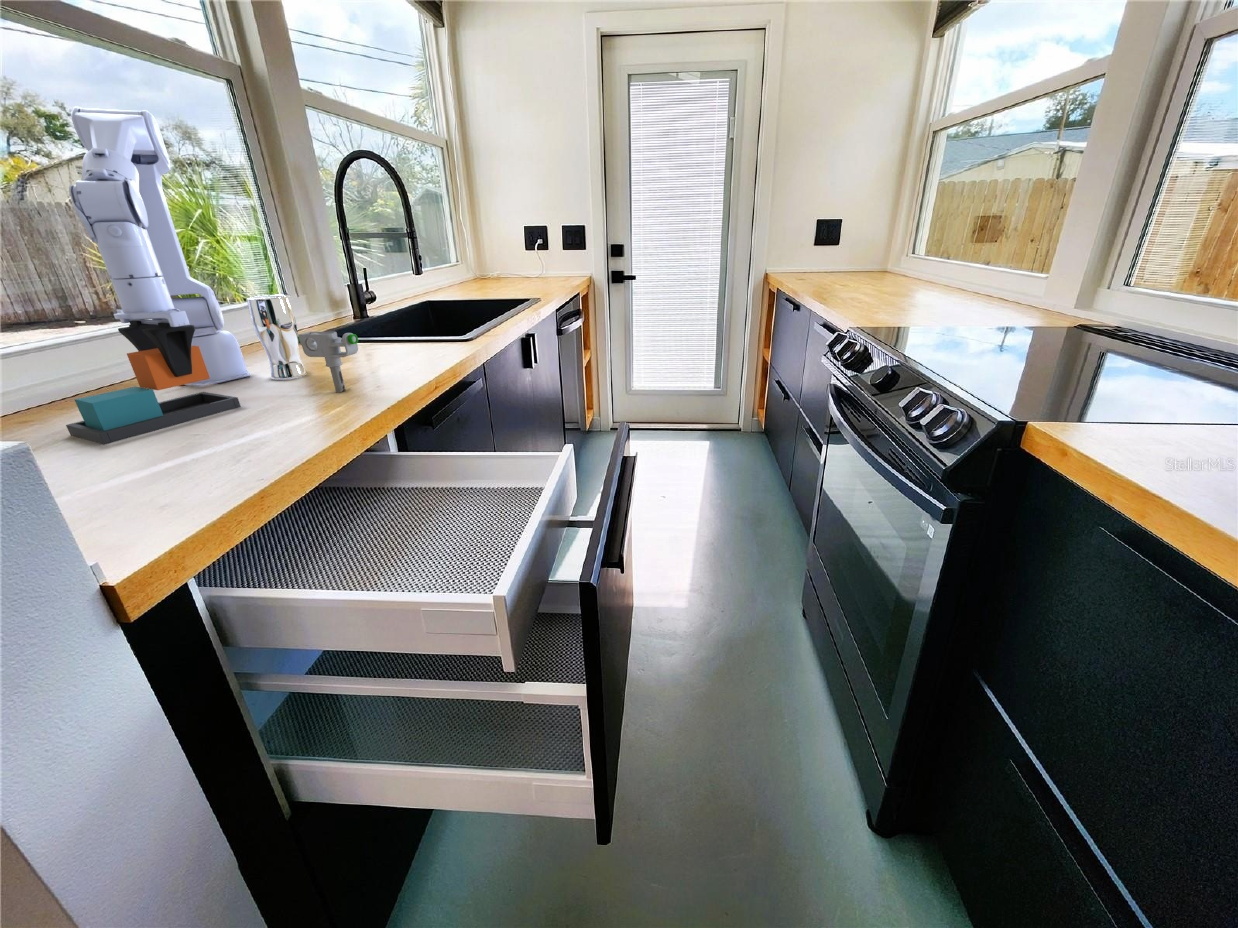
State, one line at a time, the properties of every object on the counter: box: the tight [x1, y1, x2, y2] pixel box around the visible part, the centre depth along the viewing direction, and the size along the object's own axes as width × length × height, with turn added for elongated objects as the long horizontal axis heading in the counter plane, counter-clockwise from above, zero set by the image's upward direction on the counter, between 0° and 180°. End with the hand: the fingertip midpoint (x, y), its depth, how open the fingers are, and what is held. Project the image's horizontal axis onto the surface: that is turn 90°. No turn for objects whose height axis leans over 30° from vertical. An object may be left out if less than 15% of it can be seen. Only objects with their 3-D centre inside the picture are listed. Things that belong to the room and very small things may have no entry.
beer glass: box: [246, 294, 308, 381], centre depth 101 cm, size 7×7×15 cm
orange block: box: [126, 345, 210, 391], centre depth 79 cm, size 7×5×5 cm
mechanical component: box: [298, 331, 359, 394], centre depth 91 cm, size 3×10×10 cm, turn 78°
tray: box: [65, 391, 241, 446], centre depth 79 cm, size 18×10×2 cm, turn 153°
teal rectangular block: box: [74, 386, 163, 431], centre depth 75 cm, size 7×5×5 cm
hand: (173, 373), depth 80 cm, fingers closed on orange block, 5 cm apart
